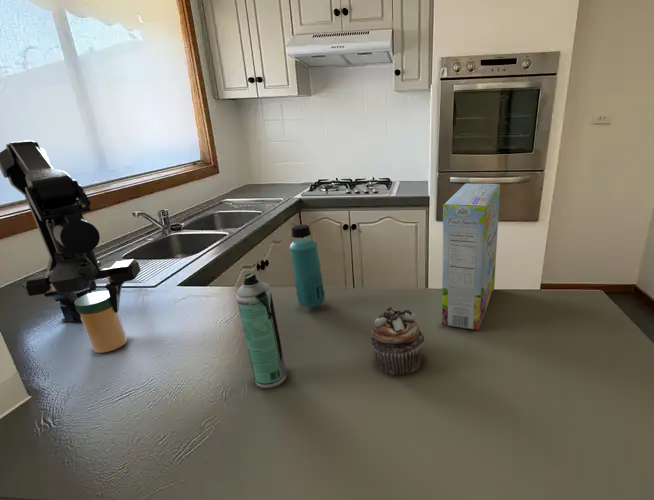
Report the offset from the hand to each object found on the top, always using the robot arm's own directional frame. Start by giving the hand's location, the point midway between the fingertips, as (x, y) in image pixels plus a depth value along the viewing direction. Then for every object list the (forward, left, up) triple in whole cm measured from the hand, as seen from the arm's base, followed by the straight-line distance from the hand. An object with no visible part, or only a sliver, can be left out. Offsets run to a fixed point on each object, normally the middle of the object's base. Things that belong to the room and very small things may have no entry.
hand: (98, 314), depth 87 cm
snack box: (-23, +75, -8) cm, 79 cm away
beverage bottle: (-21, +38, -8) cm, 44 cm away
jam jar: (0, 0, -7) cm, 7 cm away
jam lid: (0, 0, +3) cm, 3 cm away
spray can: (+7, +40, -8) cm, 42 cm away
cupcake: (0, +62, -8) cm, 63 cm away
